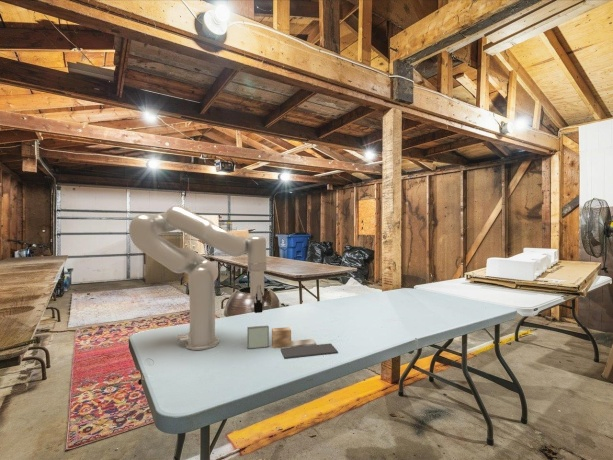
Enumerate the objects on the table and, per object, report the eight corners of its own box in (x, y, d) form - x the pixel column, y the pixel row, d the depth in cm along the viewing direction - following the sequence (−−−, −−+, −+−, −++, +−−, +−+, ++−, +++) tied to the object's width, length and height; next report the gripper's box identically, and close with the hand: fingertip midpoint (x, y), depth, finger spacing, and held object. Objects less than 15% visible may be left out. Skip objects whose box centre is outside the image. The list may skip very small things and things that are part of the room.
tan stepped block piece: (273, 349, 115) (273, 332, 115) (271, 344, 120) (271, 327, 120) (316, 344, 119) (316, 328, 119) (312, 340, 124) (312, 324, 124)
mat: (284, 358, 106) (284, 357, 106) (280, 349, 114) (280, 348, 114) (337, 353, 111) (337, 351, 111) (330, 344, 119) (330, 343, 119)
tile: (247, 349, 114) (247, 328, 114) (247, 347, 116) (247, 327, 116) (268, 347, 117) (268, 326, 116) (268, 345, 118) (268, 325, 118)
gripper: (246, 265, 129) (247, 308, 129) (249, 270, 114) (250, 318, 114) (264, 264, 131) (265, 306, 131) (268, 268, 116) (270, 316, 116)
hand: (258, 312), depth 123 cm, fingers closed
